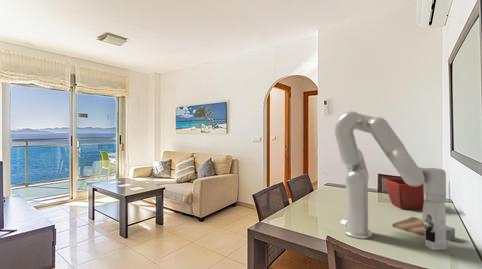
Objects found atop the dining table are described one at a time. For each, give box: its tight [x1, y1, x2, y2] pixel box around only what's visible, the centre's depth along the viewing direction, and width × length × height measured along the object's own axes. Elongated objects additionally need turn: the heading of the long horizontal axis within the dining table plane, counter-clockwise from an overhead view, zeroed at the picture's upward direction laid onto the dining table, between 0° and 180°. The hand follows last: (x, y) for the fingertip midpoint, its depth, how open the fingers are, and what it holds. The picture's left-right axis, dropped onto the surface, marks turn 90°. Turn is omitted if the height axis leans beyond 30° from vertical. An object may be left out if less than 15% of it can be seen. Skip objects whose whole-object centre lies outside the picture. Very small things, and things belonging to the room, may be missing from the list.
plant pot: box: [384, 178, 425, 211], centre depth 158 cm, size 19×19×17 cm
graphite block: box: [446, 225, 456, 242], centre depth 111 cm, size 5×5×5 cm
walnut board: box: [392, 216, 425, 238], centre depth 123 cm, size 16×20×2 cm
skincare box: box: [424, 221, 447, 251], centre depth 102 cm, size 6×4×12 cm
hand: (435, 238), depth 102 cm, fingers open, 7 cm apart
